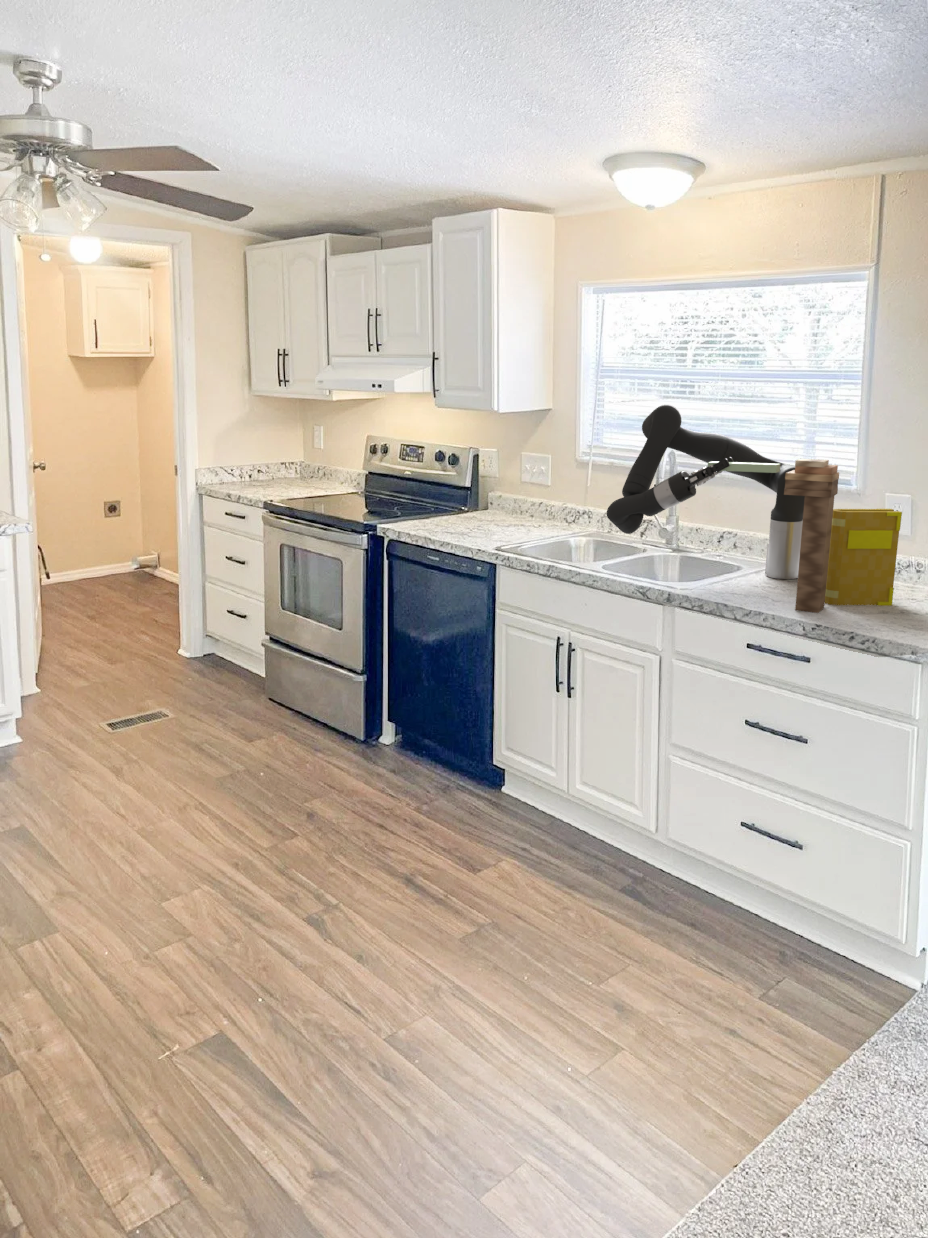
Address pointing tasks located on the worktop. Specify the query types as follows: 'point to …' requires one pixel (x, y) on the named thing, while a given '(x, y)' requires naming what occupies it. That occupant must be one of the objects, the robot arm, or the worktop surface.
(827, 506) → the tall brown wooden column
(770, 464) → the block
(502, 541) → the worktop surface
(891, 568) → the book
